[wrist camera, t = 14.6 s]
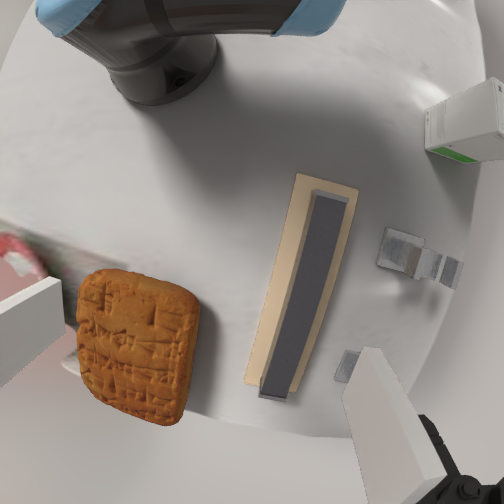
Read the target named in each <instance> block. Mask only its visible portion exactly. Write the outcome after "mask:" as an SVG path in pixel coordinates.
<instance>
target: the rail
mask: <svg viewBox="0 0 504 504" xmlns="http://www.w3.org/2000/svg"><path fill="white" fill-rule="evenodd" d="M347 203H349V198H348V197H344V196H341V195H337V194H334V193H330V192H326V191H323V190H319V189H314V190H311V198H310V202H309V206H308V211H307V215H306V219H305V223H304V227H303V231H302V235H301V239H300V243H299V247H298V251H297V254H296V258H295V262H294V266H293V270H292V273H291V277H290V281H289V284H288V288H287V292H286V295H285V299H284V302H283V306H282V309H281V313H280V316H279V320H278V323H277V327H276V330H275V334H274V337H273V340H272V344H271V347H270V350H269V354H268V357H267V360H266V363H265V367H264V370H263V373H262V376H261V377H260V382H259V396H258V397H259V398H265V399H270V400H276V401H282V402H285V401H286V396H287V393H288V391H289V388H290V385H291V383H292V380H293V378H294V375H295V372H296V370H297V367H298V364H299V361H300V359H301V356H302V353H303V350H304V347H305V345H306V342H307V339H308V336H309V333H310V330H311V327H312V324H313V321H314V318H315V315H316V312H317V309H318V306H319V303H320V299H321V296H322V293H323V290H324V286H325V283H326V280H327V276H328V273H329V269H330V266H331V262H332V259H333V255H334V252H335V248H336V244H337V241H338V237H339V233H340V229H341V225H342V221H343V217H344V213H345V209H346V205H347Z"/></svg>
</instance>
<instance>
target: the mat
mask: <svg viewBox="0 0 504 504" xmlns="http://www.w3.org/2000/svg"><path fill="white" fill-rule="evenodd" d="M314 189H319V190H323V191H326V192H330V193H334V194H337V195H341V196H344V197H348V198H349V203H347V205H346V209H345V213H344V217H343V221H342V225H341V229H340V233H339V237H338V241H337V244H336V248H335V252H334V255H333V259H332V262H331V266H330V269H329V273H328V276H327V280H326V283H325V286H324V290H323V293H322V296H321V299H320V303H319V306H318V309H317V312H316V315H315V318H314V321H313V324H312V327H311V330H310V333H309V336H308V339H307V342H306V345H305V347H304V350H303V353H302V356H301V359H300V361H299V364H298V367H297V370H296V372H295V375H294V378H293V380H292V383H291V385H290V388H289V391H288V392H294V393H296V391H297V388H298V386H299V383H300V381H301V378H302V376H303V373H304V371H305V368H306V365H307V363H308V360H309V357H310V355H311V352H312V349H313V347H314V344H315V341H316V338H317V335H318V333H319V330H320V327H321V324H322V321H323V318H324V315H325V312H326V309H327V306H328V303H329V300H330V297H331V293H332V290H333V287H334V284H335V280H336V277H337V274H338V270H339V267H340V264H341V260H342V257H343V253H344V249H345V246H346V242H347V238H348V235H349V231H350V227H351V223H352V219H353V215H354V211H355V207H356V203H357V198H358V194H359V190H357V189H354V188H351V187H347V186H344V185H340V184H337V183H333V182H330V181H326V180H323V179H319V178H315V177H311V176H308V175H304V174H300V173H297V175H296V179H295V184H294V188H293V192H292V196H291V201H290V205H289V209H288V213H287V217H286V221H285V226H284V230H283V234H282V238H281V242H280V246H279V250H278V254H277V258H276V262H275V266H274V270H273V274H272V278H271V282H270V286H269V289H268V293H267V297H266V301H265V305H264V309H263V312H262V316H261V320H260V324H259V327H258V331H257V335H256V338H255V342H254V346H253V349H252V353H251V357H250V360H249V364H248V368H247V371H246V375H245V378H244V383H246V384H251V385H256V386H259V382H260V377H261V376H262V373H263V370H264V367H265V363H266V360H267V357H268V354H269V350H270V347H271V344H272V340H273V337H274V334H275V330H276V327H277V323H278V320H279V316H280V313H281V309H282V306H283V302H284V299H285V295H286V292H287V288H288V284H289V281H290V277H291V273H292V270H293V266H294V262H295V258H296V254H297V251H298V247H299V243H300V239H301V235H302V231H303V227H304V223H305V219H306V215H307V211H308V206H309V202H310V198H311V190H314Z"/></svg>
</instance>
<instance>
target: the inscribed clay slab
mask: <svg viewBox="0 0 504 504" xmlns="http://www.w3.org/2000/svg"><path fill="white" fill-rule="evenodd" d="M76 318H77V322H78V323H79V324H80V327H79V329H78V331H77V348H78V359H79V362H80V372H81V377H82V379H83V381H84V384H85V385H86V386H87V387H88V389H89V390H90V392H91V393H92V394H93V395H94V397H95V398H97V399H98V400H100V401H101V402H103V403H105V404H107V405H111V406H112V407H114V408H116V409H118V410H120V411H122V412H124V413H127V414H130V415H132V416H135V417H138V418H140V419H143V420H145V421H148V422H152V423H155V424H158V425H162V426H171V425H174V424H176V423H177V422H179V420H180V419H181V417H182V415H183V411H184V408H185V404H186V401H187V397H188V393H189V388H190V382H191V375H192V368H193V360H194V352H195V346H196V340H197V334H198V326H199V318H200V304H199V301H198V300H197V298H196V297H195V295H193V294H192V293H191V292H190V291H188V290H187V289H185V288H183V287H181V286H178V285H176V284H173V283H171V282H167V281H160V280H158V279H154V278H152V277H147V276H145V275H143V274H139V273H135V272H128V271H124V270H120V269H102V270H98V271H95V272H94V273H93V274H90V275H88V276H87V277H86V278H85V279H84V281H83V283H82V284H81V286H80V287H79V292H78V304H77V313H76Z"/></svg>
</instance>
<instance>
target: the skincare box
mask: <svg viewBox="0 0 504 504" xmlns="http://www.w3.org/2000/svg"><path fill="white" fill-rule="evenodd" d="M425 150H427V151H430V152H433V153H436V154H439V155H442V156H444V157H447V158H450V159H453V160H456V161H458V162H461V163H463V164H469V163H477V162H486V161H494V160H504V84H503V83H502V82H500V81H499V80H497V79H496V78H495V77H491V78H490V79H488V80H486V81H484V82H482V83H480V84H478V85H476V86H473V87H471V88H469V89H467V90H465V91H463V92H461V93H459V94H457V95H455V96H453V97H451V98H449V99H447V100H445V101H442V102H440V103H438V104H436V105H434V106H432V107H430V108H428V109H426V110H425Z"/></svg>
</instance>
